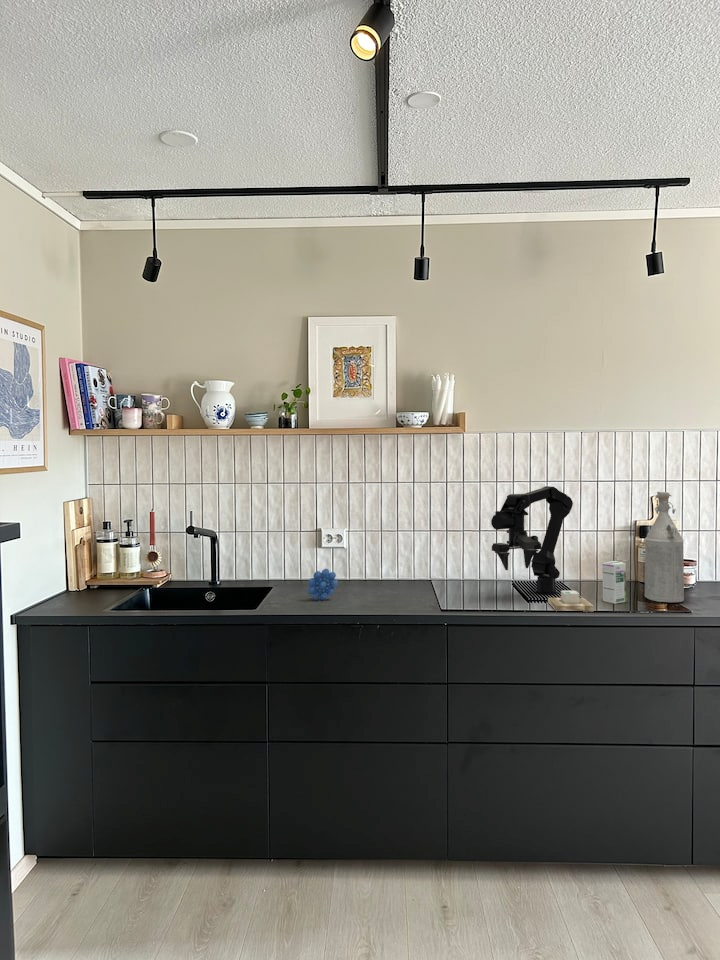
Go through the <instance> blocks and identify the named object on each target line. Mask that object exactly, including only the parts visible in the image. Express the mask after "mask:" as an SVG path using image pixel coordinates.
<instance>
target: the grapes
mask: <svg viewBox="0 0 720 960" xmlns="http://www.w3.org/2000/svg"><path fill="white" fill-rule="evenodd" d="M336 577H337V575H336V573H335V572H334V571H330V570H329V569H328V568H324V569H322V570H321V571H320V570H317V571H315V572H314V573H313V577H311V578H309V579H308V581H307V584H308V585H309V587H308V588H307V593H308V594H309V595H311V597H312V599H313V600H315V601H316V600H319V599H320V600H321V601H325V600H327V598H328V597H329V596H333V594H335V592H336V589H335V588H336V587H337V586H338V584H339V581H338V579H336Z"/></svg>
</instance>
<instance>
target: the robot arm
mask: <svg viewBox="0 0 720 960" xmlns="http://www.w3.org/2000/svg"><path fill="white" fill-rule="evenodd" d="M542 500H545V501H546V503H548V505H549V506H548V510H549V514H550V517H549V520H548V525H547V527H546V531H545V534H544V538H543V541H542V543H541V542H540V540H539V537H538V536H537V535H530V536H529V535H528V532H527V530H525V516H529V512H527V511H526V509H527V508H529V507H530V506H531V504H534V503H536V502H539V501H542ZM573 505H574V502H573V500H572V498H571V497H570V496H568V495H567V494H566V493H564V492H562V491H561V490H559V489H558V488H557V487H555V486H550V485H549V486H547V485H546V486H543V487H541V488H538V489H535V490H532V491H528V492H525V493H509V494H508V495H507V496H506V498H505V501H504V503H503V504H502V506H501V508H500V510H496V511H495V512H494V515H493V516H492V518H491V520H490V521H491V526H492V528H493V529H494V530H496V531H499V530H501V531H502V530H506V534H508V540H506V543H504V542H493V543H492V545H491V551H492V552H494V553H495V554H497V556H498V557H499V560H500V562H501V563H502V566H503V568H504V570H505V571H508V570H509V556H510V553H511V552H509V551H510V550H518V549H521V550H523V557H524V558H523V559H524V567H525V569H529V567H530V566H531V569H532V573H533V576H534V577H537V578H536V589H535V590H534V592H535V591H536V592H537V593H538V594H542V595H551V594H552V595H553V594H559V591H557V590H556V589H557V588H556V586H557V585H556V584H557V583H556V579H559V578H560V575H561V572H560V570H559V569H558V568H557V566H556V563H557V562H556V557H555V549H556V546H557V543H558V539H559V536H560V534H561V533H560V532H561V529H562V525H563V521H564V520H565V518H566V517H568V516H569V515H570V513H571V511H572V508H573ZM530 564H531V565H530ZM536 592H535V593H536Z"/></svg>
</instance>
